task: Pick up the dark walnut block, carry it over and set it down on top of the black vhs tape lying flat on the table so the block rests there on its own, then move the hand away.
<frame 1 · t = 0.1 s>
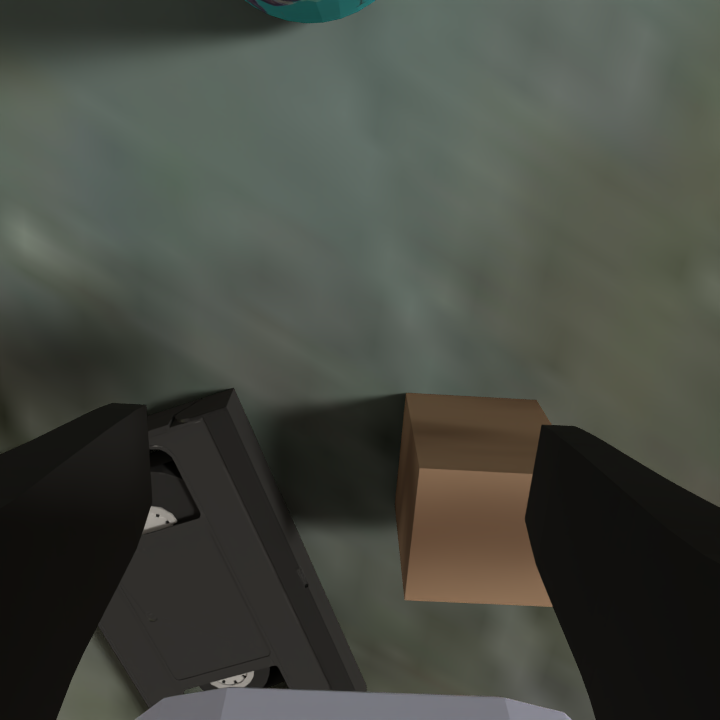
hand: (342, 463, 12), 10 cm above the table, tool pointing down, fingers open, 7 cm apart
vhs tape: (213, 567, 26), on the table
walnut block: (463, 453, 23), on the table
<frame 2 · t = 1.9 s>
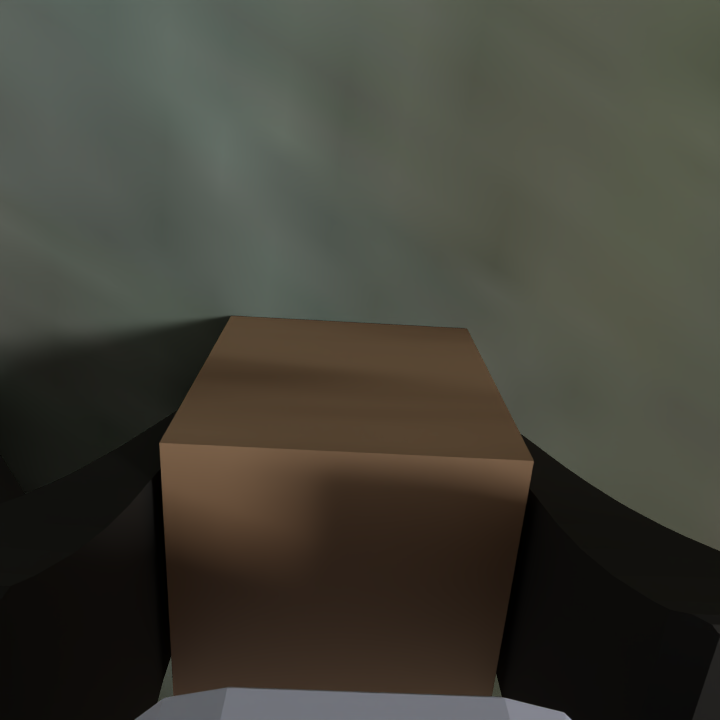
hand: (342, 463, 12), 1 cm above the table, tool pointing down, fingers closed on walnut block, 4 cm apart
walnut block: (343, 427, 13), on the table, touching gripper
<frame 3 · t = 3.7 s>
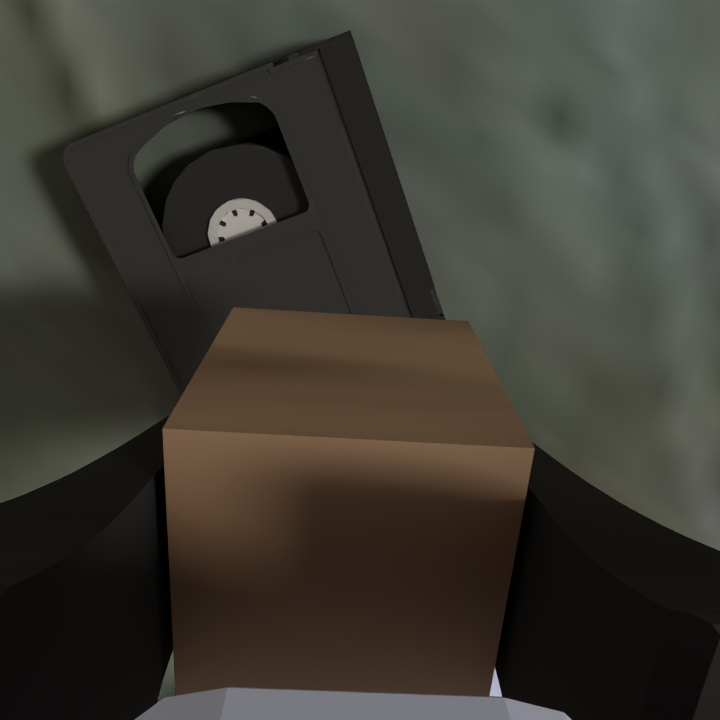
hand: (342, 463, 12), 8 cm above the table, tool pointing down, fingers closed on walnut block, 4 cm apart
vhs tape: (310, 323, 21), on the table
walnut block: (344, 419, 13), point 7 cm above the table, touching gripper
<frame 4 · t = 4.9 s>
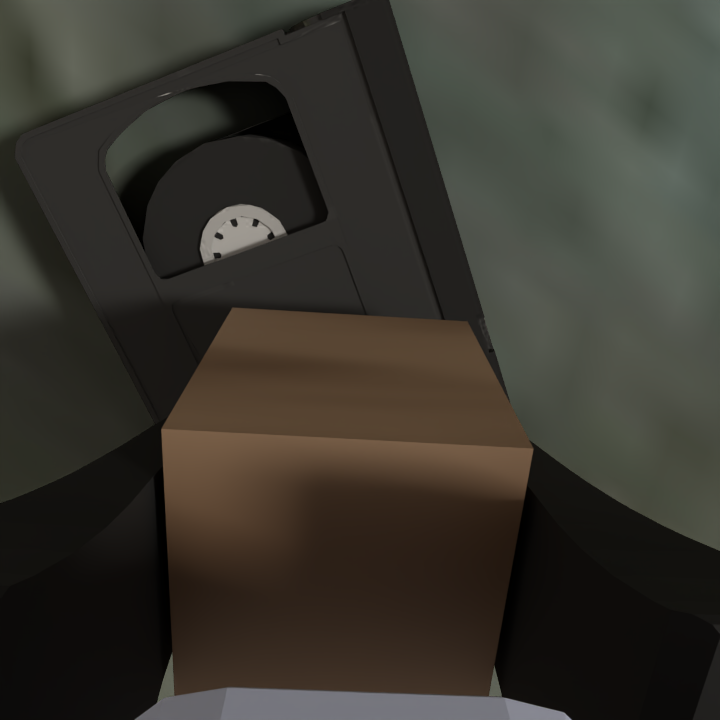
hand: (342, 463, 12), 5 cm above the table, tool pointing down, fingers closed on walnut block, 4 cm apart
vhs tape: (325, 355, 17), on the table
walnut block: (344, 419, 13), point 3 cm above the table, touching gripper
when the fingers open (5 cm above the table, at t = 5.6 s): walnut block drops 2 cm, resting on vhs tape.
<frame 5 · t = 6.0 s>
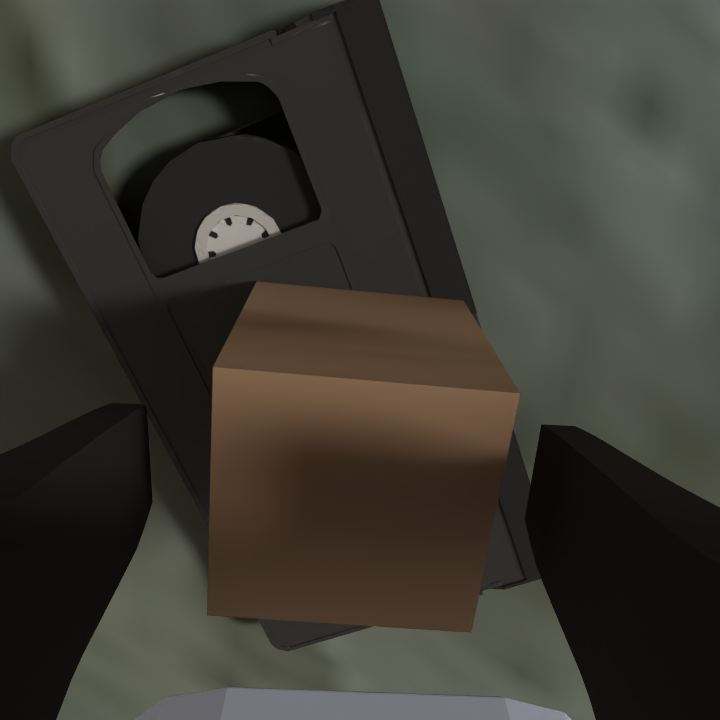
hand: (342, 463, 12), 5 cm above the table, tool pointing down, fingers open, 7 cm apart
vhs tape: (320, 352, 17), on the table, touching walnut block
walnut block: (351, 386, 15), point 1 cm above the table, touching vhs tape
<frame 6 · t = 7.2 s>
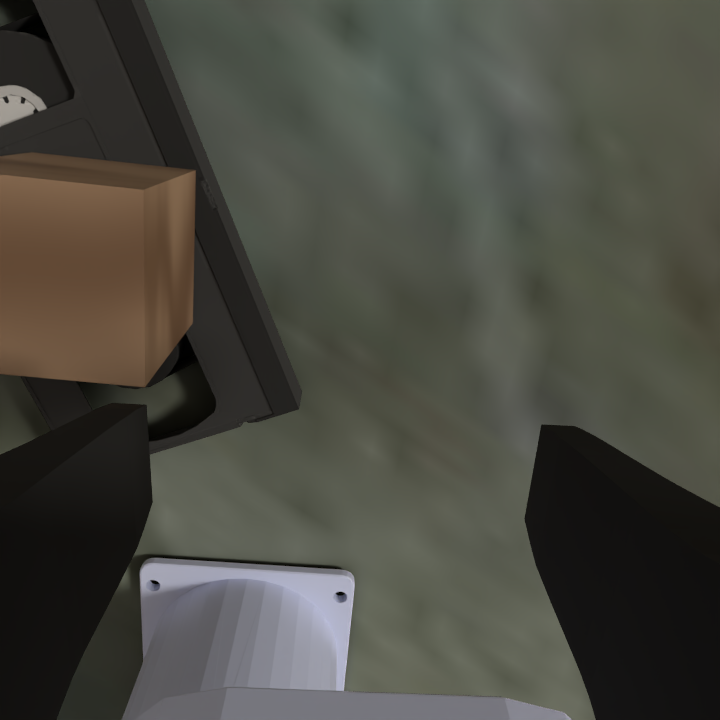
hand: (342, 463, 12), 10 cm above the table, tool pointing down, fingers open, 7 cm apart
vhs tape: (111, 225, 21), on the table, touching walnut block
walnut block: (116, 241, 19), point 1 cm above the table, touching vhs tape
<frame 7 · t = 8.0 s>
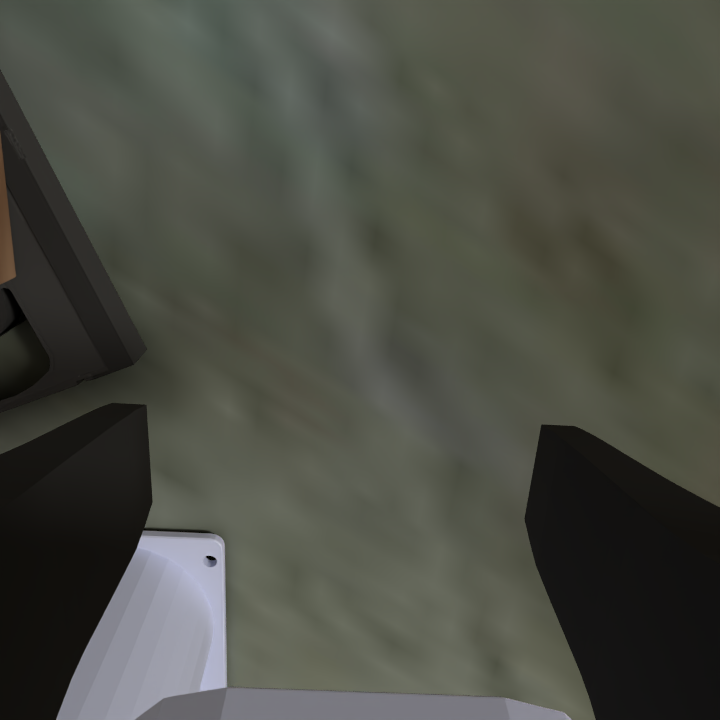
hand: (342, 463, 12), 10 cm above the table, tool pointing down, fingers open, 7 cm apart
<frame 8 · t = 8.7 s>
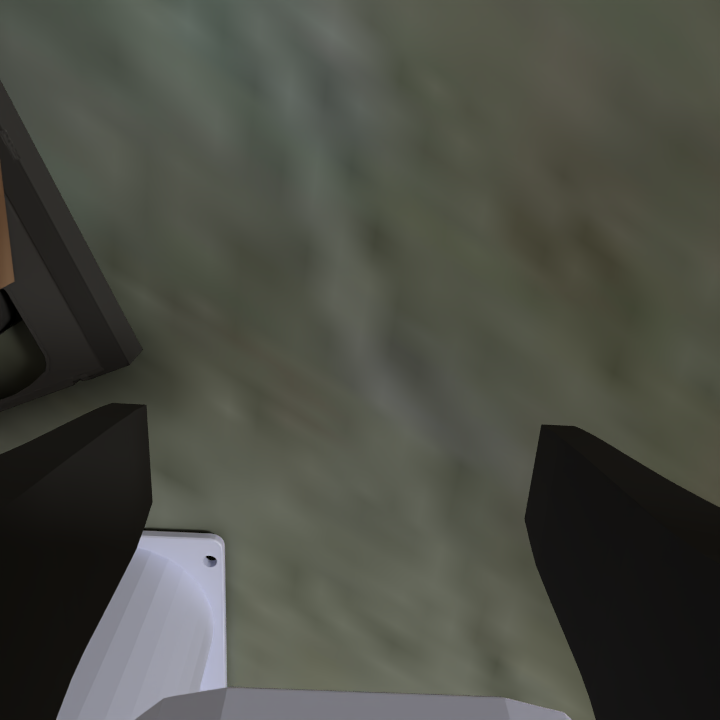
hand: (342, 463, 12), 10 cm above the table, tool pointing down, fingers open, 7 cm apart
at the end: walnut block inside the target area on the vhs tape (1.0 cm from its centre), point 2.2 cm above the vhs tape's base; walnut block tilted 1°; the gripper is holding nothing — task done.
